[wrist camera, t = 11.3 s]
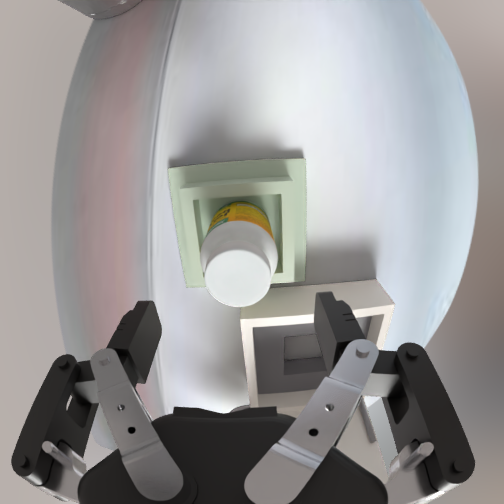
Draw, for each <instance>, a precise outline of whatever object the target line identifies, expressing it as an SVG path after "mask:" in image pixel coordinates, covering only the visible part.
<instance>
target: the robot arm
mask: <svg viewBox="0 0 504 504" xmlns="http://www.w3.org/2000/svg"><path fill="white" fill-rule="evenodd" d="M58 1H60V2H62V3H65V4H66V5H68V6H70V7H72V8H74V9H75V10H77V11H79V12H81V13H83V14H85V15H86V16H88V17H90V18H93V19H106V18H110V17H114V16H116V15H119V14H121V13H124V12H125V11H127V10H129V9H131V8H132V7H134V6H135V5H136V4H138V3H139V2H141V1H142V0H58ZM314 328H315V332H316V335H317V338H318V342H319V345H320V348H321V352H322V355H323V359H324V362H325V366H326V369H327V373H328V376H326V377H325V378H324V379H323V381H322V382H321V384H320V385H319V387H318V388H317V390H316V391H315V393H314V394H313V396H312V397H311V399H310V400H309V402H308V403H307V405H306V406H305V407H304V409H303V410H302V412H301V413H300V414H299V416H298V417H297V418H295V417H292V416H289V415H286V414H281V413H277V406H271V407H255V408H247V409H243V410H239V411H235V412H230V413H225V414H222V413H217V412H213V411H209V410H204V409H200V408H188V407H174V410H173V414H168V415H165V416H162V417H159V418H157V419H155V420H153V419H152V417H151V416H150V414H149V412H148V410H147V409H146V407H145V405H144V403H143V401H142V399H141V397H140V396H139V394H138V392H137V390H136V388H135V387H136V384H137V383H141V384H145V383H146V380H147V377H148V374H149V371H150V368H151V365H152V362H153V358H154V355H155V352H156V350H157V347H158V344H159V341H160V338H161V334H162V327H161V323H160V320H159V316H158V313H157V310H156V307H155V304H154V302H153V301H138V302H137V304H136V306H135V308H134V309H133V310H130V311H129V312H128V313H126V314H125V315H124V316H123V318H122V319H121V321H120V323H119V325H118V327H117V330H115V332H114V334H113V336H112V338H111V340H110V342H109V344H108V346H107V348H105V349H101V350H99V351H97V352H96V353H94V354H93V356H92V357H91V360H88V361H82V362H77V361H76V359H75V357H74V356H72V355H69V354H66V355H62V356H60V357H58V358H57V359H56V360H55V361H54V363H53V365H52V367H51V368H50V370H49V372H48V374H47V376H46V378H45V380H44V382H43V384H42V386H41V388H40V390H39V392H38V395H37V396H36V399H35V401H34V403H33V405H32V407H31V410H30V412H29V414H28V416H27V419H26V421H25V424H24V426H23V428H22V431H21V434H20V436H19V439H18V441H17V444H16V447H15V450H14V453H13V456H12V460H11V463H12V467H13V470H14V471H15V472H16V473H17V474H18V475H19V476H21V477H22V478H24V479H25V480H27V481H28V482H29V483H30V484H32V485H33V486H35V487H36V488H38V489H40V490H41V491H43V492H45V493H47V494H49V495H51V496H54V497H55V498H57V499H59V500H61V501H69V500H71V501H74V502H76V503H79V504H426V503H428V502H430V501H432V500H434V499H436V498H438V497H440V496H441V495H443V494H445V493H447V492H448V491H450V490H452V489H453V488H455V487H457V486H458V485H460V484H461V483H463V482H464V481H466V480H467V479H468V478H469V477H470V476H471V475H472V473H473V471H474V467H475V460H474V457H473V454H472V451H471V448H470V446H469V443H468V440H467V438H466V435H465V433H464V431H463V428H462V426H461V423H460V421H459V418H458V416H457V414H456V412H455V409H454V407H453V405H452V403H451V401H450V398H449V396H448V394H447V392H446V390H445V388H444V386H443V384H442V382H441V380H440V378H439V376H438V374H437V372H436V370H435V368H434V366H433V364H432V362H431V361H430V359H429V357H428V355H427V353H426V351H425V350H424V349H423V347H421V346H420V345H418V344H415V343H404V344H402V345H401V346H400V347H399V348H398V350H397V351H384V350H379V349H378V347H377V346H376V345H375V344H374V343H373V342H371V341H369V340H366V338H365V336H364V334H363V332H362V330H361V328H360V325H359V323H358V321H357V320H356V317H355V315H354V314H353V311H352V309H351V308H350V306H349V305H348V304H347V303H345V302H344V301H343V300H339V301H336V299H335V297H334V295H333V293H332V291H327V292H317V293H316V297H315V309H314ZM70 395H71V396H72V399H71V402H70V404H69V407H68V410H66V405H67V402H68V399H69V397H70ZM363 396H376V397H382V400H383V403H384V407H385V410H386V413H387V416H388V420H389V423H390V426H391V430H392V433H393V437H394V441H395V444H396V448H397V452H398V455H397V456H396V457H395V458H394V459H393V460H392V462H391V464H390V467H389V478H388V481H387V483H385V484H383V482H382V481H381V480H380V479H379V478H378V477H376V476H375V475H374V474H372V473H371V472H369V471H368V470H366V469H365V468H363V467H362V466H360V465H359V464H358V463H356V462H355V461H353V460H352V459H351V458H349V457H348V456H347V455H345V454H344V453H342V452H341V451H340V450H338V449H337V448H336V446H337V445H338V443H339V441H340V440H341V438H342V436H343V434H344V432H345V430H346V428H347V426H348V424H349V423H350V421H351V419H352V417H353V415H354V413H355V411H356V409H357V407H358V405H359V403H360V401H361V399H362V397H363ZM99 403H100V405H101V407H102V410H103V413H104V415H105V418H106V420H107V423H108V425H109V428H110V430H111V433H112V435H113V437H114V440H115V442H116V444H117V446H118V449H116V450H115V451H114V452H112V453H111V454H110V455H109V456H107V457H106V458H105V459H103V460H102V461H101V462H99V463H98V464H97V465H95V466H94V467H92V468H91V469H90V470H88V471H87V470H86V463H85V461H84V459H83V456H84V452H85V449H86V445H87V441H88V438H89V434H90V431H91V427H92V424H93V421H94V417H95V414H96V411H97V408H98V405H99Z"/></svg>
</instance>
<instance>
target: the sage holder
mask: <svg viewBox="0 0 504 504" xmlns="http://www.w3.org/2000/svg"><path fill="white" fill-rule="evenodd" d="M168 175H169V183H170V191H171V198H172V205H173V212H174V219H175V225H176V232H177V238H178V244H179V250H180V255H181V261H182V266H183V272H184V277H185V282H186V287H187V288H195V287H206V285H205V280H204V272H203V270H202V267H201V262H200V252H201V247H202V244H203V241H204V239H205V237H206V234H207V231H208V229H209V226H210V224H211V221H212V219H213V217H214V215H215V213H216V212H217V211H218V209H219V208H220V207H222V206H223V205H225V204H227V203H229V202H232V201H237V200H246V201H250V202H252V203H255V204H256V205H258V206H259V207H260V208H262V209H263V211H264V212H265V213H266V215H267V217H268V219H269V222H270V226H271V230H272V233H273V237H274V241H275V244H276V248H277V254H278V262H277V267H276V270H275V273H274V275H273V276H272V278H271V284H273V283H288V282H303V281H305V268H306V159H305V158H285V159H260V160H243V161H229V162H217V163H207V164H197V165H188V166H180V167H172V168H168Z"/></svg>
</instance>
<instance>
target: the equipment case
mask: <svg viewBox="0 0 504 504" xmlns="http://www.w3.org/2000/svg"><path fill="white" fill-rule="evenodd" d="M327 291H332V293H333V295H334V297H335V299H336V301H339V300H343V301H344V302H345V303H347V304H348V305H349V306H350V308H351V309H352V311H353V314H354V315H355V317H356V320H357V321H358V323H359V325H360V328H361V330H362V332H363V334H364V336H365V338H366V340H369V341H371V342H373V343H374V344H375V345H376V346H377V347H378V349H379V350H382V349H383V345H384V342H385V339H386V336H387V332H388V329H389V325H390V322H391V318H392V315H393V311H394V307H395V303H394V302H393V301H392V299H391V298H390V296H389V295H388V294H387V292H386V291H385V290H384V288H383V287H382V286H381V284H380V283H379V282H378V281H377V279H373V280H364V281H353V282H342V283H331V284H319V285H306V286H292V287H278V288H269V290H268V292H267V293H266V295H265V296H264V297H263V298H262V299H261V300H259V301H258V302H256V303H254V304H252V305H249V306H245V307H241V308H240V323H241V333H242V342H243V350H244V359H245V368H246V376H247V385H248V393H249V401H250V408H255V407H271V406H277V413H281V414H286V415H289V416H292V417H295V418H297V417H298V416H299V414H300V413H301V412H302V410H303V409H304V407H305V406H306V405H307V403H308V402H309V400H310V399H311V397H312V396H313V394H314V393H315V391H316V390H317V388H318V387H319V385H320V384H321V382H322V381H323V379H324V378H325V377H326V376H328V373H327V369H326V366H325V362H324V359H323V357H317V358H309V359H299V360H288V361H284V337H291V336H302V335H313V334H316V332H315V328H314V309H315V297H316V293H317V292H327ZM364 398H365V396H363V397H362V399H361V401H360V403H359V405H358V407H357V409H356V411H355V413H354V415H353V417H352V419H351V421H350V423H349V424H348V426H347V428H346V430H345V432H344V434H343V436H342V438H341V440H340V441H339V443H338V445H337V446H336V448H337V449H338V450H340V451H341V452H342V453H344V454H345V455H347V456H348V457H349V458H351V459H352V460H353V461H355V462H356V463H358V464H359V465H360V466H362V467H363V468H365V469H366V470H368V471H369V472H371V473H372V474H374V475H375V476H376V477H378V478H379V479H380V480H381V481H382V482H383V484H385V483H387V481H388V478H389V477H388V474H387V470H386V467H385V463H384V460H383V457H382V453H381V450H380V447H379V444H378V441H377V438H376V434H375V432H374V428H373V426H372V422H371V419H370V416H369V413H368V410H367V408H366V405H365V402H364Z"/></svg>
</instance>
